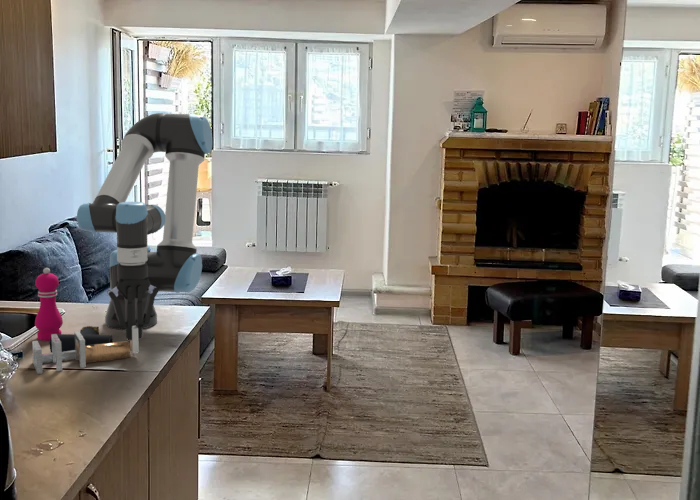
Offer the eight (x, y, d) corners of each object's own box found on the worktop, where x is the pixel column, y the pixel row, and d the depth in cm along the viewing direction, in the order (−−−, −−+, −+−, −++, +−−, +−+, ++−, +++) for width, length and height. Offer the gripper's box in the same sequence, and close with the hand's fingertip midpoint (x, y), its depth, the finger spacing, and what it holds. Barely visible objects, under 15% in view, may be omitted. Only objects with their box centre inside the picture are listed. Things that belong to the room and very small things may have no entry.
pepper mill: (65, 333, 212) (62, 265, 208) (61, 341, 205) (58, 270, 201) (38, 334, 210) (35, 265, 207) (33, 341, 203) (29, 270, 200)
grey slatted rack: (79, 357, 192) (78, 330, 191) (85, 367, 184) (84, 339, 183) (32, 362, 186) (31, 335, 185) (37, 374, 179) (36, 345, 177)
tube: (127, 357, 195) (125, 340, 195) (130, 357, 191) (129, 340, 191) (79, 363, 189) (77, 346, 189) (81, 363, 185) (80, 346, 186)
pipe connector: (63, 324, 203) (118, 324, 204) (64, 342, 204) (119, 343, 205) (49, 336, 192) (108, 337, 193) (50, 356, 193) (108, 356, 194)
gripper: (109, 267, 183) (112, 358, 187) (161, 263, 189) (163, 352, 193) (103, 261, 189) (105, 350, 193) (154, 258, 196) (155, 344, 200)
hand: (134, 351), depth 193 cm, fingers closed
